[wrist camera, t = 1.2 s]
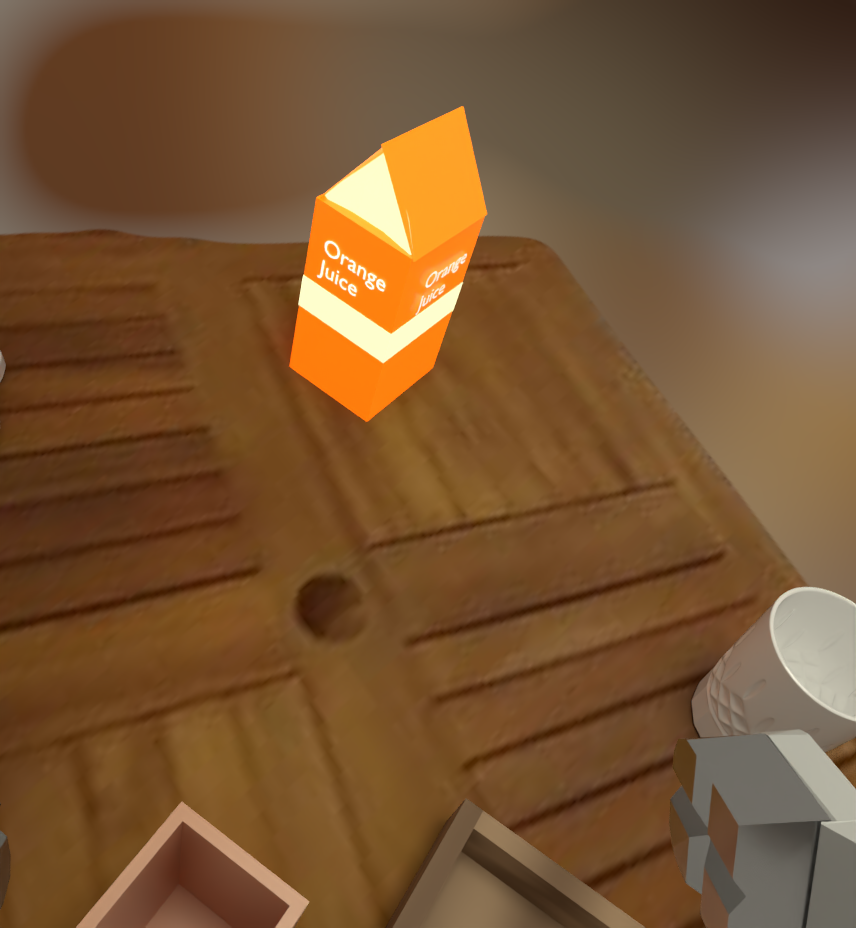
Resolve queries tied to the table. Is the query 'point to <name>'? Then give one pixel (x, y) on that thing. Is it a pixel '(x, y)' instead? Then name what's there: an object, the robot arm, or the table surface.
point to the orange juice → (388, 265)
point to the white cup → (787, 673)
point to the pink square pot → (195, 884)
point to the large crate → (497, 884)
